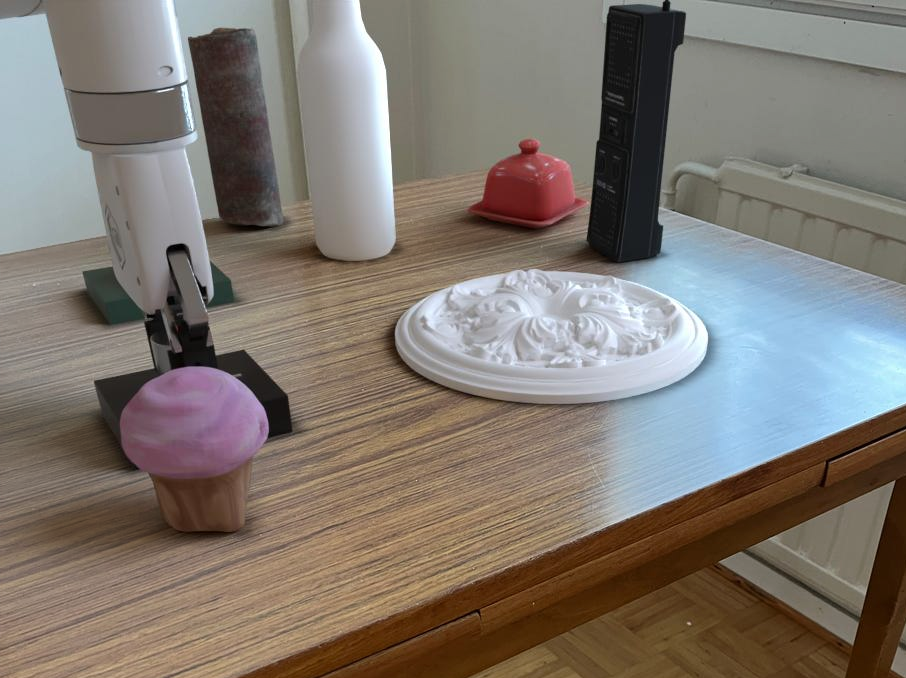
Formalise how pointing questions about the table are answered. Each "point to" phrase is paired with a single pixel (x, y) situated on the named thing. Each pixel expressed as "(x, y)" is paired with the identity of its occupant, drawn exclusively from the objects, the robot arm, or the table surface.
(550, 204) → the butter dish
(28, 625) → the table surface
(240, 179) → the candle
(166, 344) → the dial
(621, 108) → the portable radio
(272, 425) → the dial panel
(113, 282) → the box
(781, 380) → the table surface
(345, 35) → the white bottle
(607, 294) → the ceiling medallion
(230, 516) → the cupcake
